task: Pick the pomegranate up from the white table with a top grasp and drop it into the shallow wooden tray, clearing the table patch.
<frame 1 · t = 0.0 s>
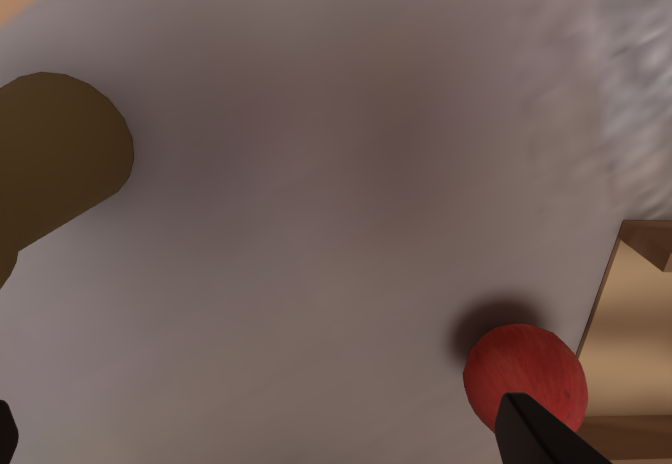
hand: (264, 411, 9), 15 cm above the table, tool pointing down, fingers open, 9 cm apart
pomegranate: (495, 333, 27), on the table
olive pepper shaker: (65, 141, 21), on the table
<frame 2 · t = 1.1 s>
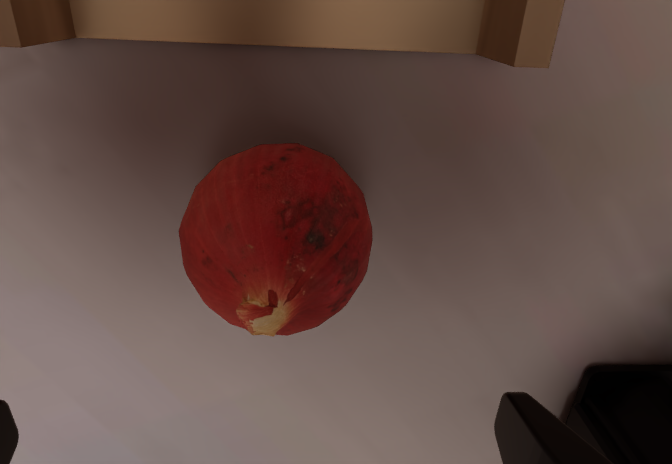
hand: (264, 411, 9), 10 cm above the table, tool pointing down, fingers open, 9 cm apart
pomegranate: (283, 190, 18), on the table
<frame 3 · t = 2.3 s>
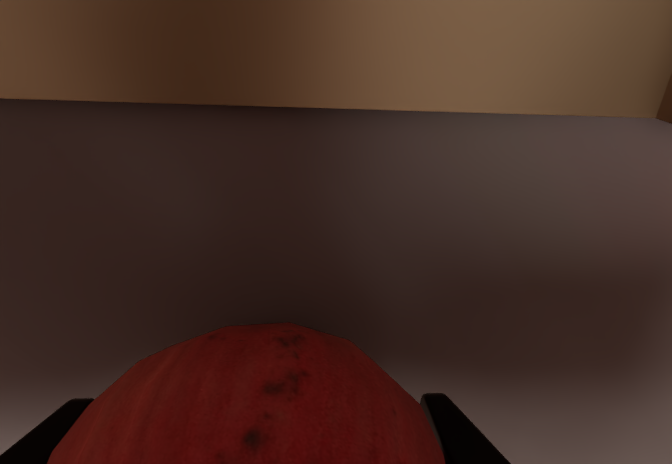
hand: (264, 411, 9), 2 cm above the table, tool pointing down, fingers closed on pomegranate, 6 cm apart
pomegranate: (270, 348, 10), on the table, touching gripper
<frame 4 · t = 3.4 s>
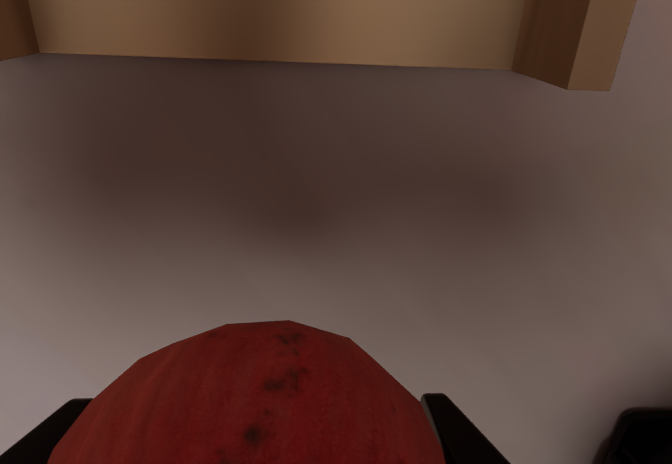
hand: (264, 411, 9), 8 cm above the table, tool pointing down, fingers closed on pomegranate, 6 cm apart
pomegranate: (270, 346, 10), point 6 cm above the table, touching gripper
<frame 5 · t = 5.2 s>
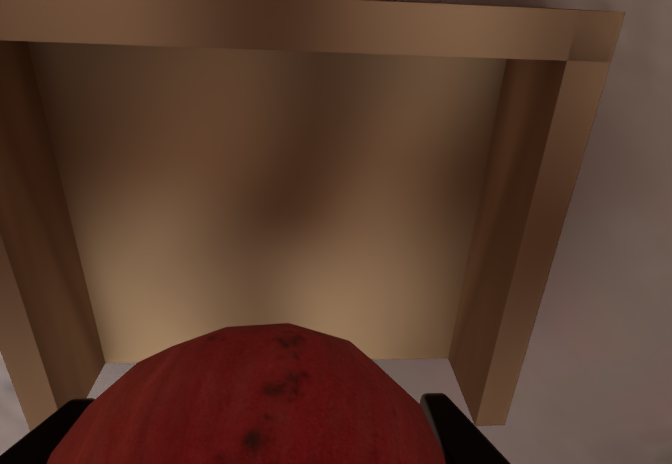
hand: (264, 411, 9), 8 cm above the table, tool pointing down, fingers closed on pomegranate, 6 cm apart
shallow wooden tray: (279, 208, 15), on the table
pomegranate: (270, 348, 10), point 6 cm above the table, touching gripper
when the fingers open (4 cm above the table, at t = 6.2 s): pomegranate drops 2 cm, resting on shallow wooden tray.
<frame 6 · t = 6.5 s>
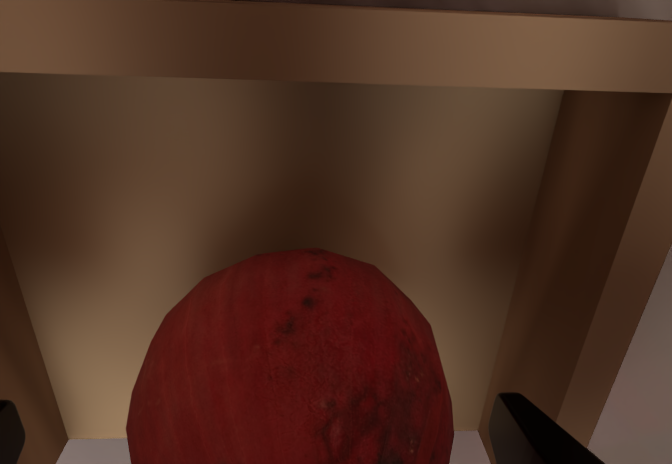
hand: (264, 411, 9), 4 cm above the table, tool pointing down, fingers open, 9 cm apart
shallow wooden tray: (276, 262, 12), on the table
pomegranate: (283, 286, 12), resting on shallow wooden tray
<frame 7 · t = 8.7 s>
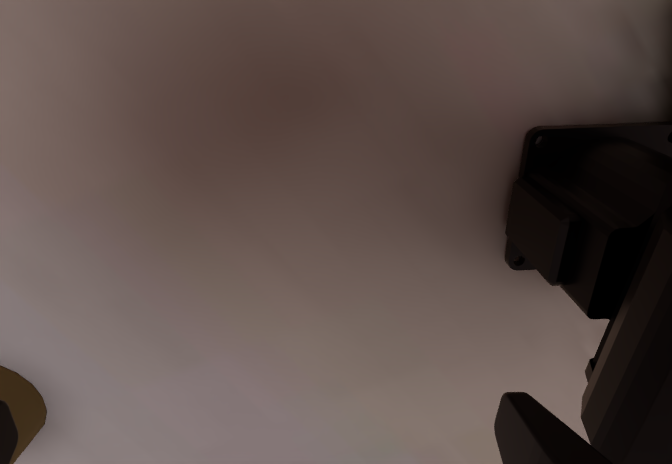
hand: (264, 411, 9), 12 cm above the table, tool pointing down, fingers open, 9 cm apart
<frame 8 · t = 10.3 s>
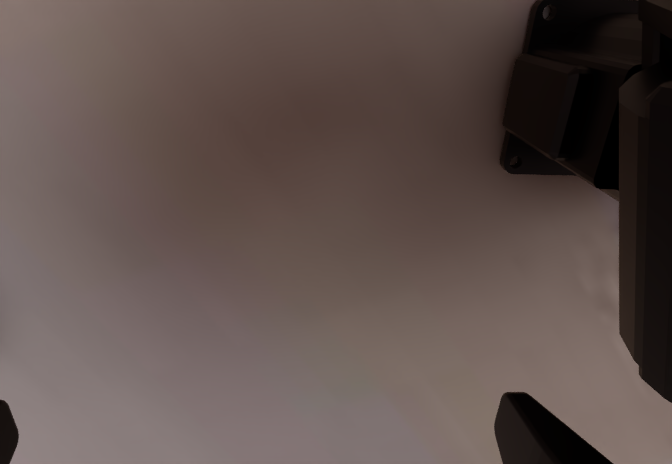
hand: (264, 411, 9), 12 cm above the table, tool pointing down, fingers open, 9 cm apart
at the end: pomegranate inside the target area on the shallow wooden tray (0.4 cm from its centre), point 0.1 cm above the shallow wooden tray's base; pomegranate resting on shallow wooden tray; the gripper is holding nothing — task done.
